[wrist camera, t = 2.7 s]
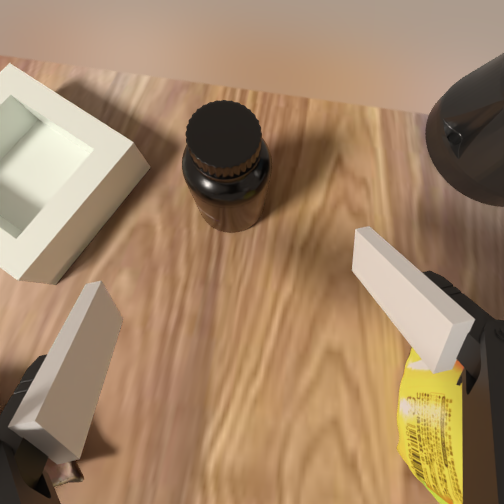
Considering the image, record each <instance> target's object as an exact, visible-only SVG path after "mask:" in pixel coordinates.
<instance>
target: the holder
mask: <svg viewBox="0 0 504 504" xmlns="http://www.w3.org/2000/svg"><path fill="white" fill-rule="evenodd" d="M150 168H151V167H150V165H149V164H148V163H147V161H146V160H145V158H144V157H143V155H142V154H141V152H140V151H139V149H138V148H137V147H136V145H135V144H134V142H132V141H131V140H129V139H127V138H126V137H124V136H123V135H121V134H120V133H118V132H117V131H115V130H113V129H112V128H110V127H109V126H107V125H106V124H104V123H102V122H101V121H99V120H98V119H96V118H95V117H93V116H91V115H90V114H88V113H87V112H85V111H84V110H82V109H81V108H79V107H77V106H76V105H74V104H73V103H71V102H70V101H68V100H66V99H65V98H63V97H62V96H60V95H59V94H57V93H55V92H54V91H52V90H51V89H49V88H48V87H46V86H45V85H43V84H41V83H40V82H38V81H37V80H35V79H34V78H32V77H30V76H29V75H27V74H26V73H24V72H23V71H21V70H19V69H18V68H16V67H15V66H13V65H12V64H10V63H9V64H8V65H7V66H6V67H5V68H4V69H3V70H2V71H1V72H0V268H2V269H3V270H4V271H6V272H7V273H8V274H10V275H11V276H13V277H14V278H15V279H17V280H19V281H27V282H36V283H44V284H53V285H56V284H57V283H58V281H59V280H60V279H61V278H62V276H63V275H64V274H65V273H66V271H67V270H68V269H69V268H70V267H71V265H72V264H73V263H74V262H75V260H76V259H77V258H78V257H79V255H80V254H81V253H82V252H83V250H84V249H85V248H86V247H87V246H88V244H89V243H90V242H91V241H92V239H93V238H94V237H95V236H96V234H97V233H98V232H99V231H100V229H101V228H102V227H103V226H104V225H105V223H106V222H107V221H108V220H109V218H110V217H111V216H112V215H113V213H114V212H115V211H116V210H117V208H118V207H119V206H120V205H121V204H122V202H123V201H124V200H125V199H126V197H127V196H128V195H129V194H130V192H131V191H132V190H133V189H134V187H135V186H136V185H137V184H138V183H139V181H140V180H141V179H142V178H143V176H144V175H145V174H146V173H147V171H148V170H149V169H150Z"/></svg>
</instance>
